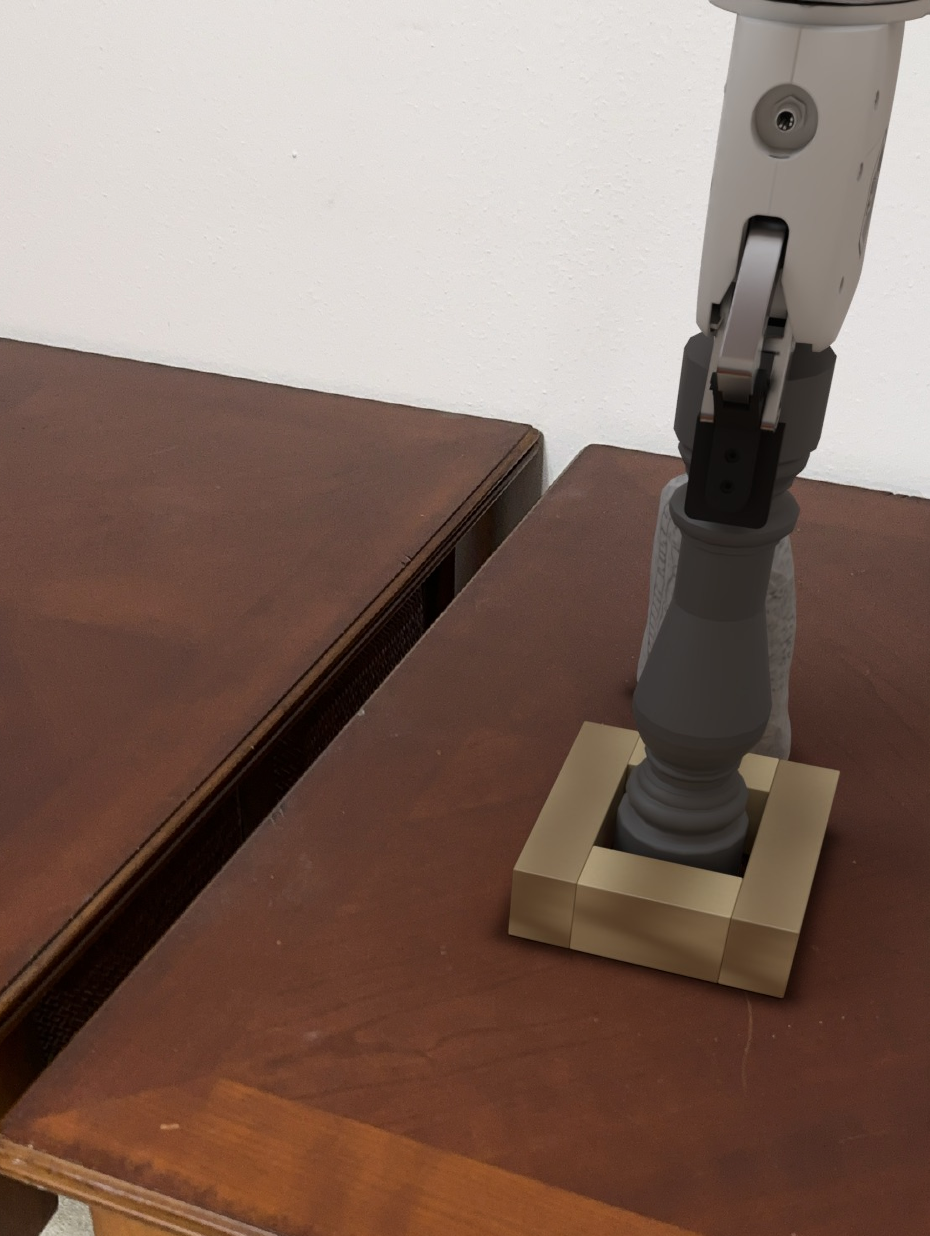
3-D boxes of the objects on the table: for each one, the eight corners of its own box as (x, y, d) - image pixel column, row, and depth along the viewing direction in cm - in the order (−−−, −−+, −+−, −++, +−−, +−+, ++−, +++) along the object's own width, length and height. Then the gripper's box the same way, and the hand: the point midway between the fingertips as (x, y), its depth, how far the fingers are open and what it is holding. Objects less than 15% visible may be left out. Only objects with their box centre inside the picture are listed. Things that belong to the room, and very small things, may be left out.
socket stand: (824, 834, 78) (840, 770, 76) (783, 999, 69) (799, 932, 67) (577, 784, 82) (584, 720, 79) (507, 934, 73) (513, 868, 70)
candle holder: (708, 925, 72) (810, 397, 55) (589, 882, 74) (650, 362, 57) (757, 855, 76) (866, 340, 59) (642, 816, 78) (714, 310, 61)
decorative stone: (612, 689, 88) (642, 436, 78) (703, 669, 90) (745, 418, 80) (706, 793, 81) (753, 528, 71) (804, 770, 82) (864, 507, 72)
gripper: (924, 12, 42) (801, 603, 55) (973, -91, 54) (862, 415, 66) (656, -6, 44) (596, 568, 57) (759, -102, 56) (691, 392, 68)
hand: (740, 481), depth 61 cm, fingers closed on candle holder, 5 cm apart
